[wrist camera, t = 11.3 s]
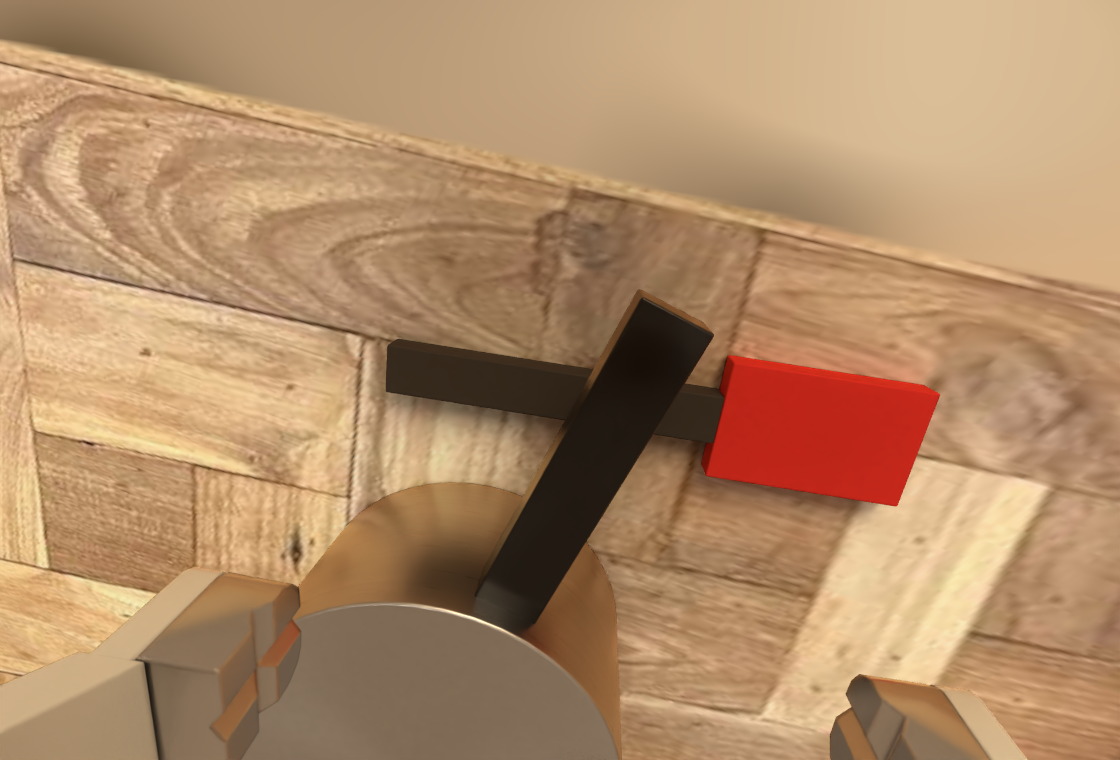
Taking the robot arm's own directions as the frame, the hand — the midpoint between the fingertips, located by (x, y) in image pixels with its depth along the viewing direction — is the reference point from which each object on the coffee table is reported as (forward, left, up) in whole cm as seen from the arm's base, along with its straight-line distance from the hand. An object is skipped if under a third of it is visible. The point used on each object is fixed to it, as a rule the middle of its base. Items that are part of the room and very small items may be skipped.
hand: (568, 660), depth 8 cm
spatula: (0, +2, -13) cm, 13 cm away
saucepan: (+7, -2, -13) cm, 14 cm away
